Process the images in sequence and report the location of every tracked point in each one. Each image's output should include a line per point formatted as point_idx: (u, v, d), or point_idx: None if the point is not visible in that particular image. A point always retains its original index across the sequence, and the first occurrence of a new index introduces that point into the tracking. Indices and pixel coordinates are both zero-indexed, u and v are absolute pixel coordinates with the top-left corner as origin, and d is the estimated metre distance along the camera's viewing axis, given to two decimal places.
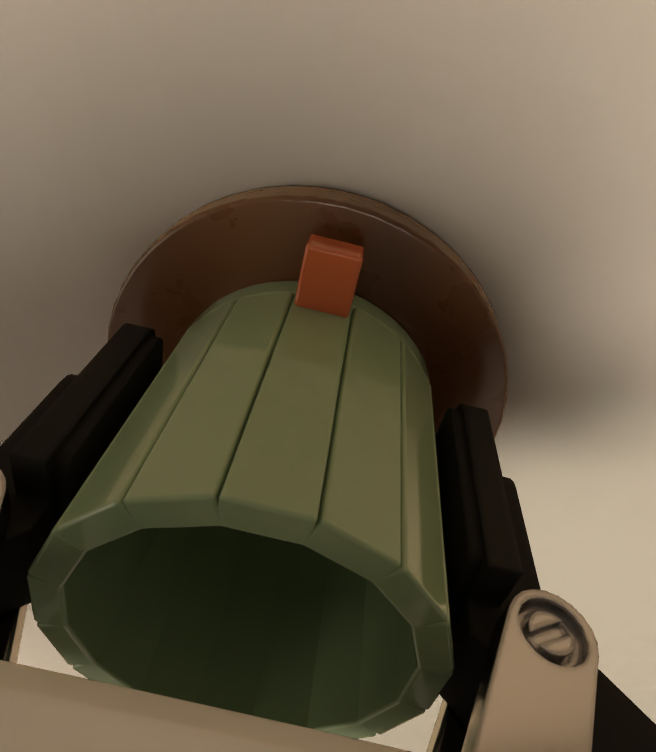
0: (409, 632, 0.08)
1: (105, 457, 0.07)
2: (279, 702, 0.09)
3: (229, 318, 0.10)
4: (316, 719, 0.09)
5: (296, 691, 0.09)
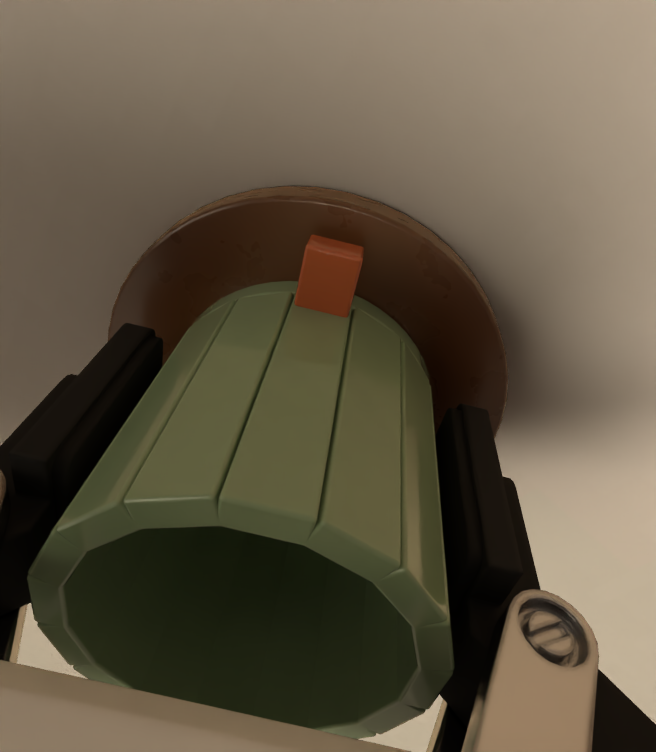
0: (409, 632, 0.08)
1: (105, 457, 0.07)
2: (279, 702, 0.09)
3: (229, 318, 0.10)
4: (316, 719, 0.09)
5: (296, 691, 0.09)
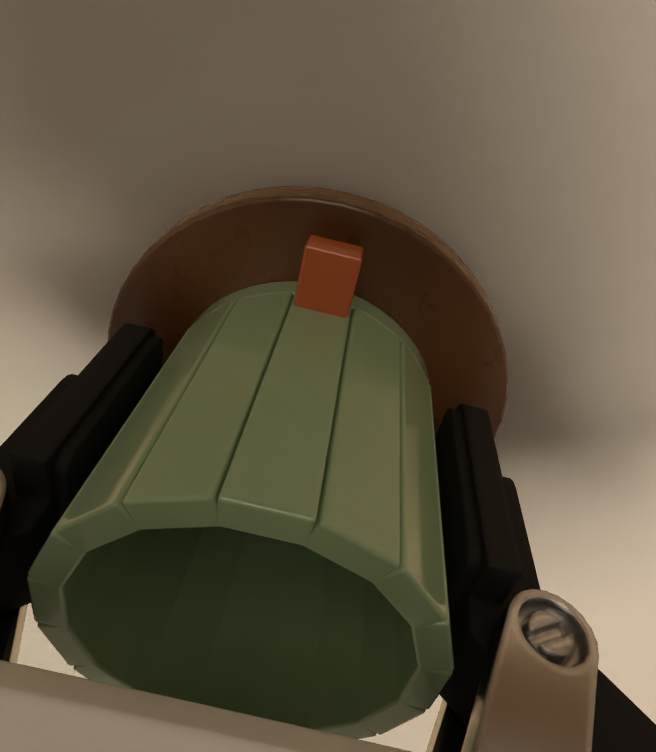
0: (409, 632, 0.08)
1: (105, 458, 0.07)
2: (279, 703, 0.09)
3: (229, 319, 0.10)
4: (316, 719, 0.09)
5: (296, 691, 0.09)
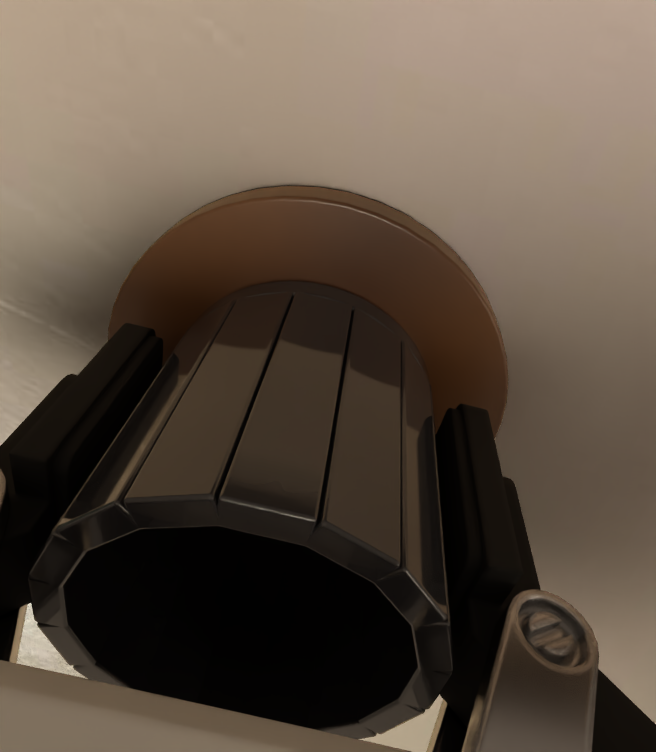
0: None
1: None
2: None
3: None
4: None
5: None
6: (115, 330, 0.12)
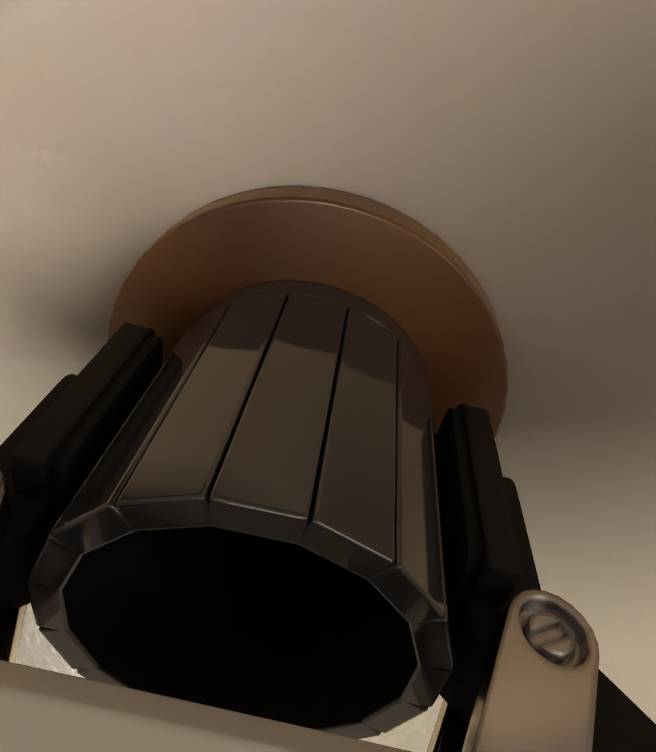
0: None
1: None
2: None
3: None
4: None
5: None
6: None
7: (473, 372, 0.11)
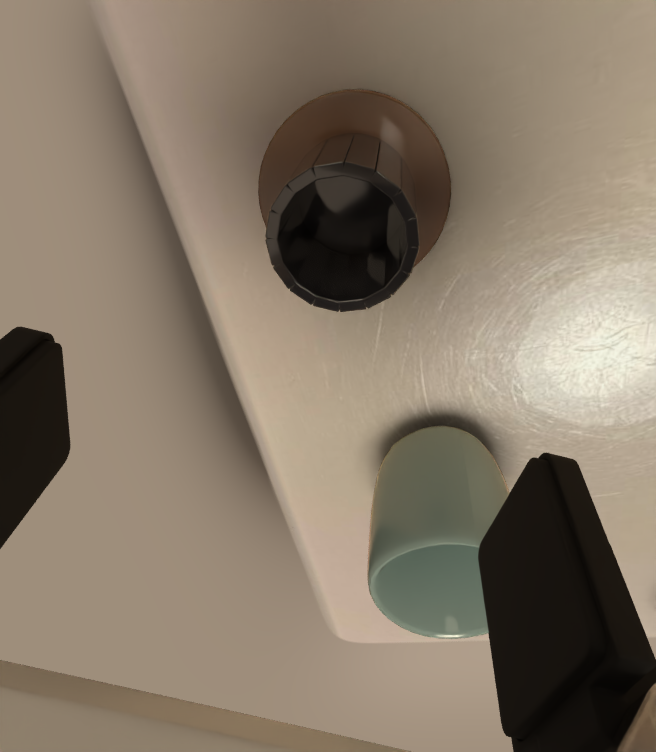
0: None
1: None
2: None
3: None
4: None
5: None
6: None
7: (346, 109, 0.23)
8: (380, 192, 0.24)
